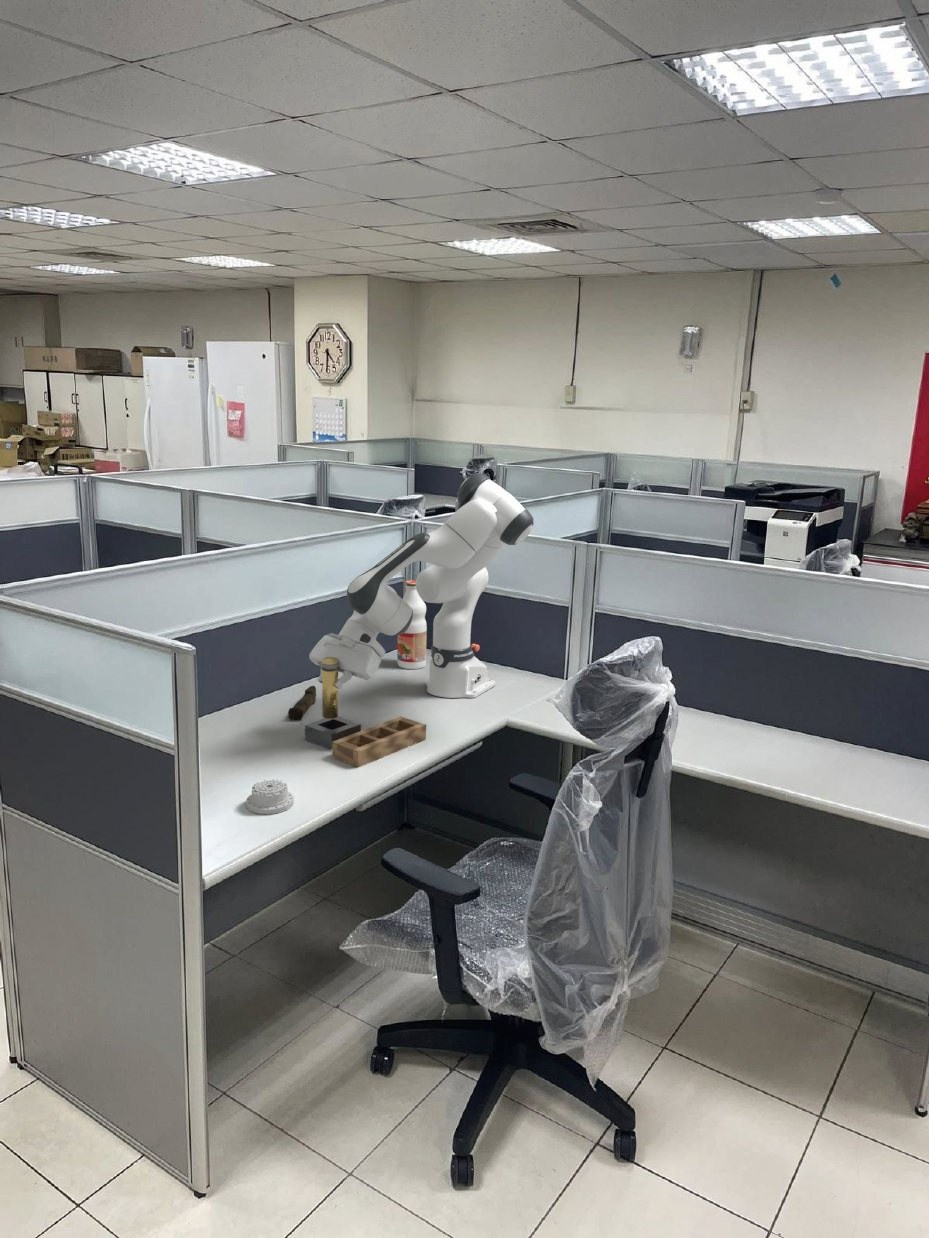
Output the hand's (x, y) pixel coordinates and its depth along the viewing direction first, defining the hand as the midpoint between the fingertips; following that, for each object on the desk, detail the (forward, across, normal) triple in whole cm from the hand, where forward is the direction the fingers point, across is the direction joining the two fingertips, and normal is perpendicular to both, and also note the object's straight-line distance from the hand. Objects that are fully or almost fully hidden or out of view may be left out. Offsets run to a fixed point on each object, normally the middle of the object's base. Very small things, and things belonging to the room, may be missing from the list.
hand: (328, 684), depth 223 cm
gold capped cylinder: (+6, 0, +6) cm, 9 cm away
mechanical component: (+35, +17, -14) cm, 41 cm away
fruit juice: (-34, -25, +55) cm, 69 cm away
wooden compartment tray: (+7, +14, +13) cm, 21 cm away
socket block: (+10, +1, +11) cm, 15 cm away
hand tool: (+3, -22, +19) cm, 29 cm away
